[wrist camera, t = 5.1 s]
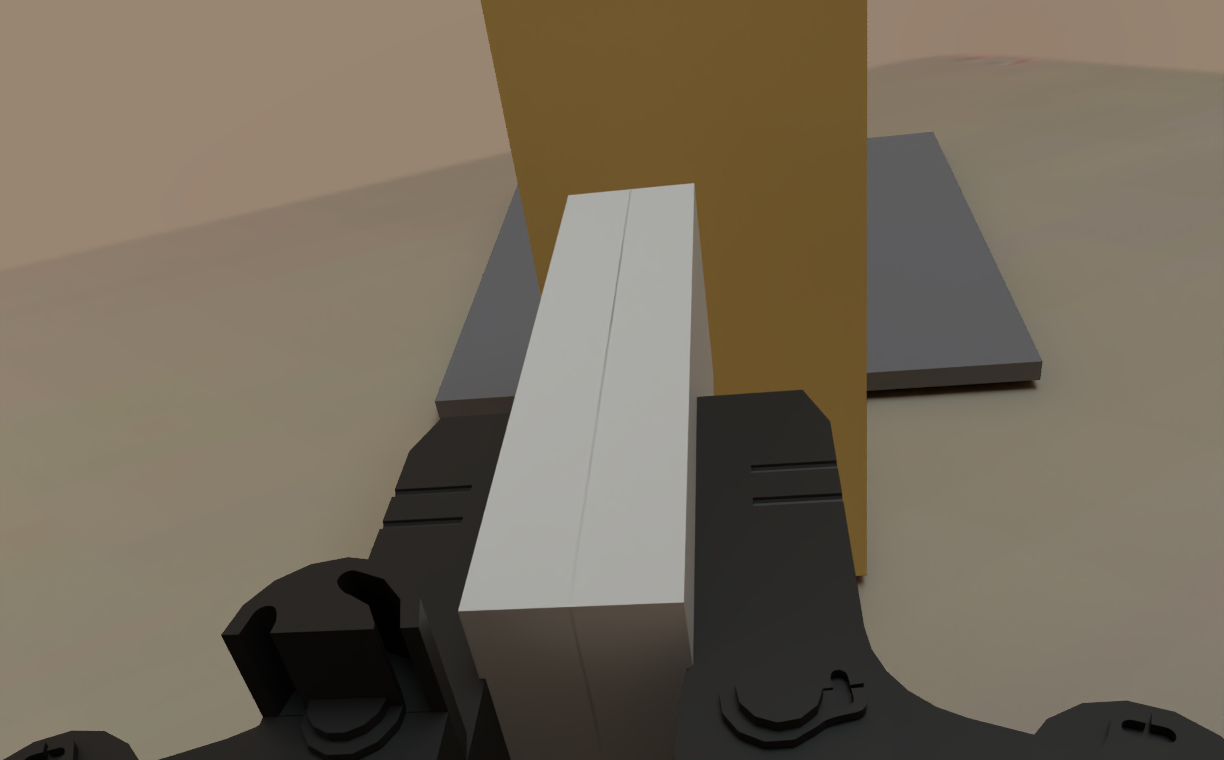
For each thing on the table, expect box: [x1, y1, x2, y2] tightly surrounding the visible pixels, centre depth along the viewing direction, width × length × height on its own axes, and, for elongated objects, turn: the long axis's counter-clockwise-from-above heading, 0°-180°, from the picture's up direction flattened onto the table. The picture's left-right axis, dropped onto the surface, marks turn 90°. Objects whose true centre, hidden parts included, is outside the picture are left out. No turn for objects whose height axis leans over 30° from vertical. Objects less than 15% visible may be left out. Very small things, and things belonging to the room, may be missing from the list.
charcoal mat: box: [435, 132, 1042, 418], centre depth 29 cm, size 14×14×1 cm
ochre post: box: [481, 0, 867, 576], centre depth 17 cm, size 5×5×14 cm
